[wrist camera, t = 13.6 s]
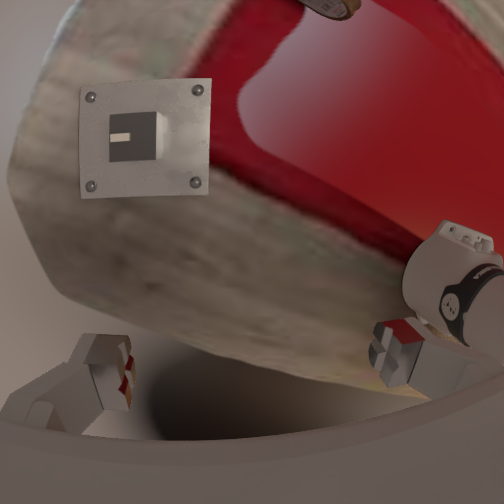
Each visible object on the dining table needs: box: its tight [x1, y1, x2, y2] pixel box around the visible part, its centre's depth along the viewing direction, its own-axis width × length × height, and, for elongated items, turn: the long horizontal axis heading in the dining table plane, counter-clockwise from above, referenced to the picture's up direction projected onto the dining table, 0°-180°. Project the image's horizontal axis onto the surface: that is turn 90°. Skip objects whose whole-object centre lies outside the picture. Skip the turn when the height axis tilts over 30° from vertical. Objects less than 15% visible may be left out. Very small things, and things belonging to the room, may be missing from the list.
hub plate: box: [79, 78, 212, 199], centre depth 33 cm, size 16×14×4 cm
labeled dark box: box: [109, 111, 163, 162], centre depth 31 cm, size 5×5×6 cm
